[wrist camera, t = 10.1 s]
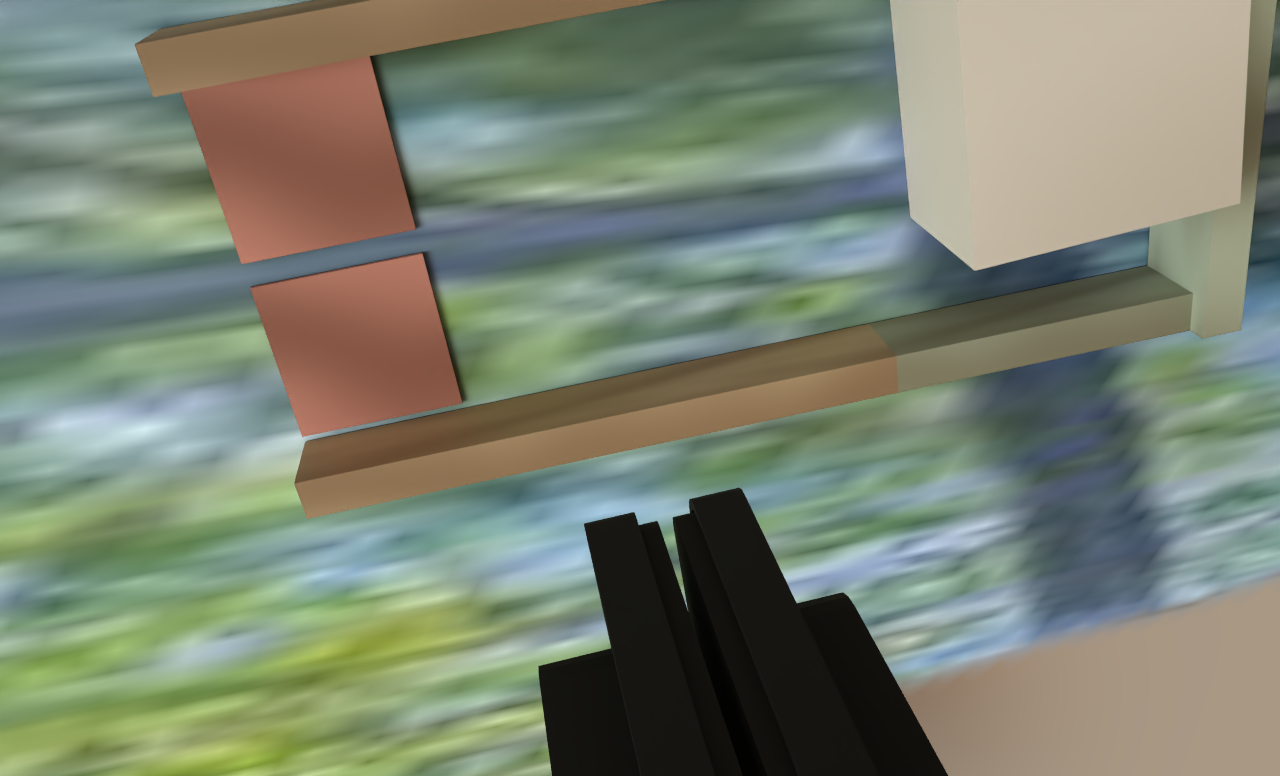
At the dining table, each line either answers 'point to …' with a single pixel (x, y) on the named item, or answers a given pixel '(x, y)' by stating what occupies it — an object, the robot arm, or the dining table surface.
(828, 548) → the dining table surface
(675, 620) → the robot arm
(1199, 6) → the cream block
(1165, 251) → the finger lane
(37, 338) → the dining table surface
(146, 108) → the dining table surface
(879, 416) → the dining table surface
